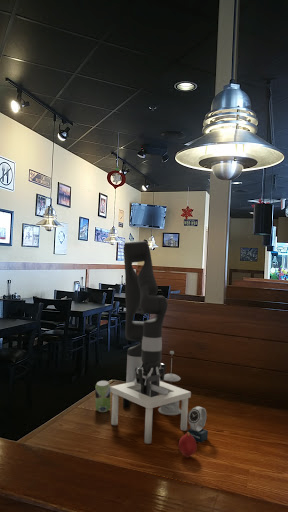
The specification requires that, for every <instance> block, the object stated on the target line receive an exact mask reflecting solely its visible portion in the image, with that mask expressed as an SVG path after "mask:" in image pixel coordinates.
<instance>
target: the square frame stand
mask: <svg viewBox="0 0 288 512" xmlns="http://www.w3.org/2000/svg"><path fill="white" fill-rule="evenodd" d="M173 385H174V384H171V383H167V382H165V381H164V382H163V380H162V381H160V384H159V387H158V386H156V385H153V384H151V382H150V392H151V390H153V391H156V392H158V393H159V395H158V396H154V397H149V396H147V395H144V394H142V393H139V392H137V391H134V390H139V389H141V384H138V383H137V382H136V379H135V380H134V382H129V383H126V382H125V383H120V384H114V385H110V393H112V398H111V419H110V421H111V422H110V424H111V425H112V426H118V423H119V418H118V417H119V397H121V398H122V399H123V398H125V399H127V400H130V401H129V402H132V403H135V404H137V405H139V406H141V407H144V408H145V414H144V415H145V416H144V417H145V418H144V441H143V442H144V444H148V445H149V444H152V438H153V437H152V432H153V413H154V412H153V411H154V408H157V407H161V406H162V405H165V404H169V403H172V402H176V401H179V402H180V401H181V403H180V404H181V405H180V406H181V407H180V410H181V413H180V430H181V431H184V432H185V431H188V413H189V412H188V411H189V409H188V407H189V398H192V397H191V396H192V392H191V391H189V390H187V389H183V388H182V387H179V386H178V387H179V388H178V387H176V386H177V385H174V386H173ZM160 394H162V395H160Z"/></svg>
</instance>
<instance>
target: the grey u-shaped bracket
mask: <svg viewBox="0 0 288 512" xmlns="http://www.w3.org/2000/svg"><path fill="white" fill-rule="evenodd" d="M143 376H147V375H143ZM144 381H145V378H144ZM150 382H151V384H153V385H156V386H158V387H159V375H151V376H150V377H148V379H147V393H146V395H147V396H149V397H154V396H158V395H160V393H158V392H156V391H153V390H151V392H150Z"/></svg>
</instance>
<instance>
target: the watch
mask: <svg viewBox="0 0 288 512" xmlns="http://www.w3.org/2000/svg"><path fill="white" fill-rule="evenodd" d="M207 417H208V416H207V410H206V408H204V407H202V406H197V405H196V406H195V407H193V408H192V409H191V410H190V411H189V412H188V416H187V421H188V424H189V427H190V428H187V432H189V433H190V435H192V436H193V437H194V439H195V440H196V441H197V442H196V443H199V442H200V444H202V443H203V441H204V442H205V440H206V441H207V440H208V438H209V437H208V436H209V430H207V429H205V428H204V427H205V425H206V421H207Z"/></svg>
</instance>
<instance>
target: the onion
mask: <svg viewBox="0 0 288 512" xmlns="http://www.w3.org/2000/svg"><path fill="white" fill-rule="evenodd" d="M197 443H198V442H196V440H195V439H194V437H193V436H192V435H190V433H189V432H188V431H187V432H186V433H185V434H184V435H183V436H181V437H180V439H179V441H178V450H179V451H180V453H181V454H182V455H183V456H184V457H185V458H190V457H191V456H192V455H194V454H195V453H196V452H197V448H198V444H197Z"/></svg>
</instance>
